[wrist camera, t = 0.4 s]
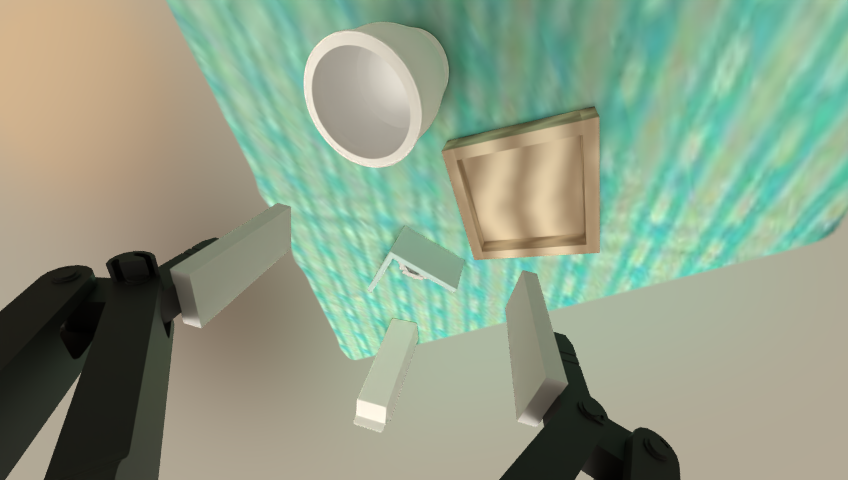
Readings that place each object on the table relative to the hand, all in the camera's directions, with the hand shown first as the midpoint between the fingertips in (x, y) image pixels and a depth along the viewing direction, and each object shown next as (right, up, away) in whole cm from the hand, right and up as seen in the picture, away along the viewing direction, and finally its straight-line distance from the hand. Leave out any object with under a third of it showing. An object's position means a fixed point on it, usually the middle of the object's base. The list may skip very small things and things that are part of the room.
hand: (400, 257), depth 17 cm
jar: (0, +21, +19) cm, 28 cm away
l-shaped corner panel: (+1, -3, +40) cm, 40 cm away
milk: (-3, -20, +55) cm, 58 cm away
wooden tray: (+15, +8, +24) cm, 30 cm away
